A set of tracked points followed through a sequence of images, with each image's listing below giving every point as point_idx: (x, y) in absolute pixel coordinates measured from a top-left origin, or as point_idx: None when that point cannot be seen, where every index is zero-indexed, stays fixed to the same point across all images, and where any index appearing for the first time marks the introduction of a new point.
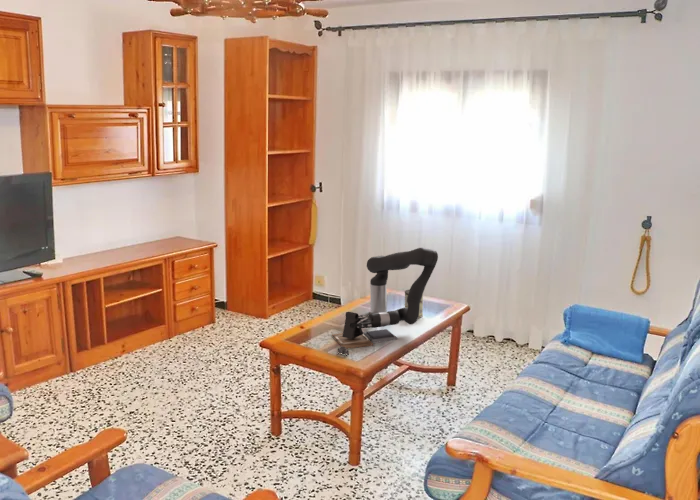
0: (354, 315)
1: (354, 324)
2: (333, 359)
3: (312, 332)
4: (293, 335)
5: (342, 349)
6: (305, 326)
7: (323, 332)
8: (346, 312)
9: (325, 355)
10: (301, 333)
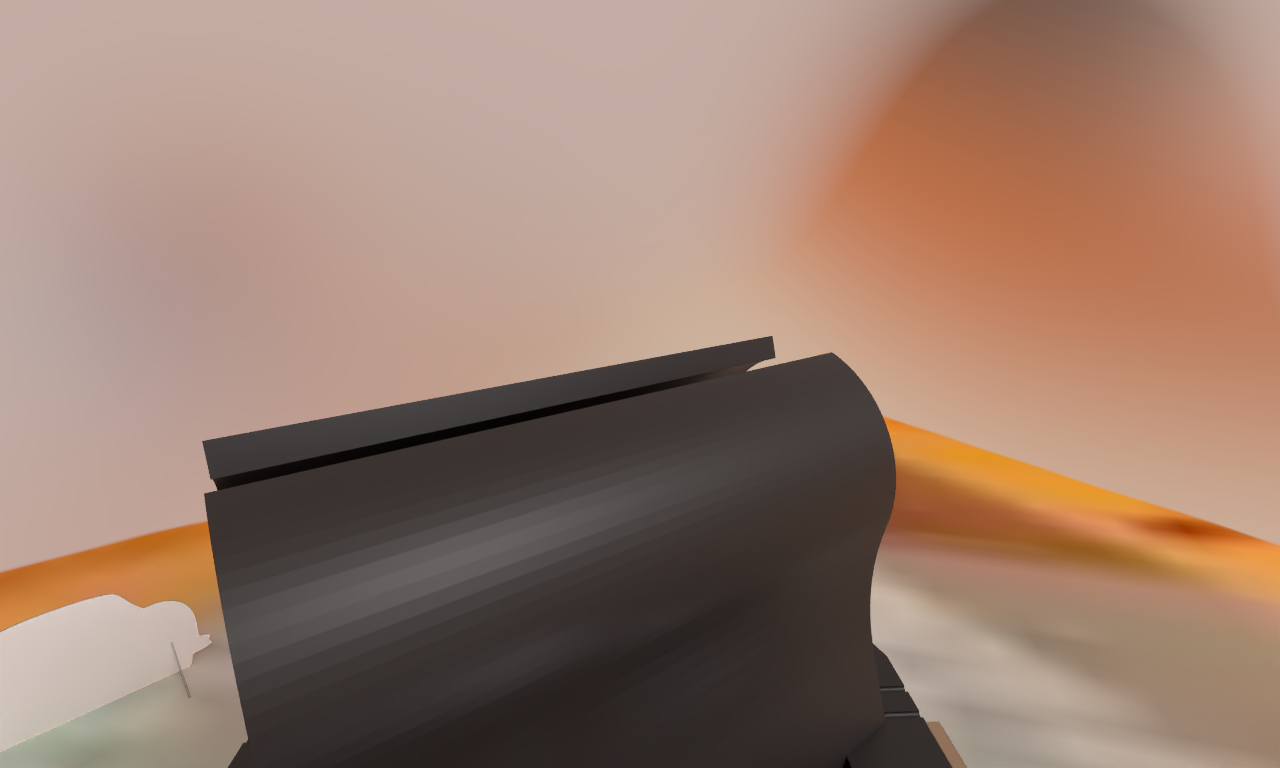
0: (268, 469)
1: (242, 758)
2: (105, 588)
3: (1036, 574)
4: (900, 463)
5: (81, 641)
6: (1241, 554)
7: (1086, 673)
8: (742, 343)
9: None
10: (970, 503)
